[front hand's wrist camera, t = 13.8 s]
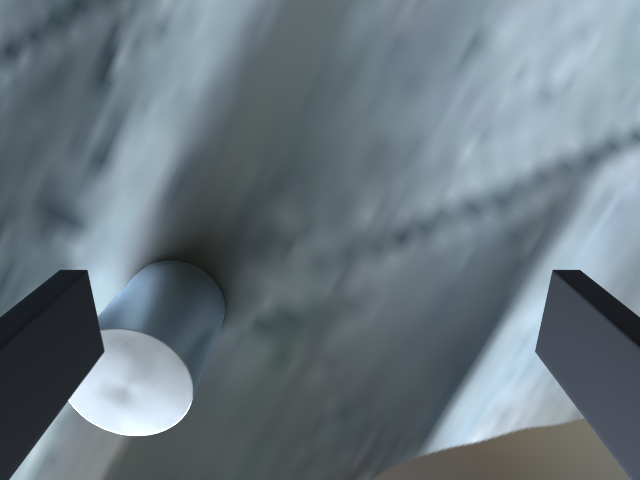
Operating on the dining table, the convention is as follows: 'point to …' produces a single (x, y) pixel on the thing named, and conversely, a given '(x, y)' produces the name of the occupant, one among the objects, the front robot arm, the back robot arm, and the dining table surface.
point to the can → (152, 349)
